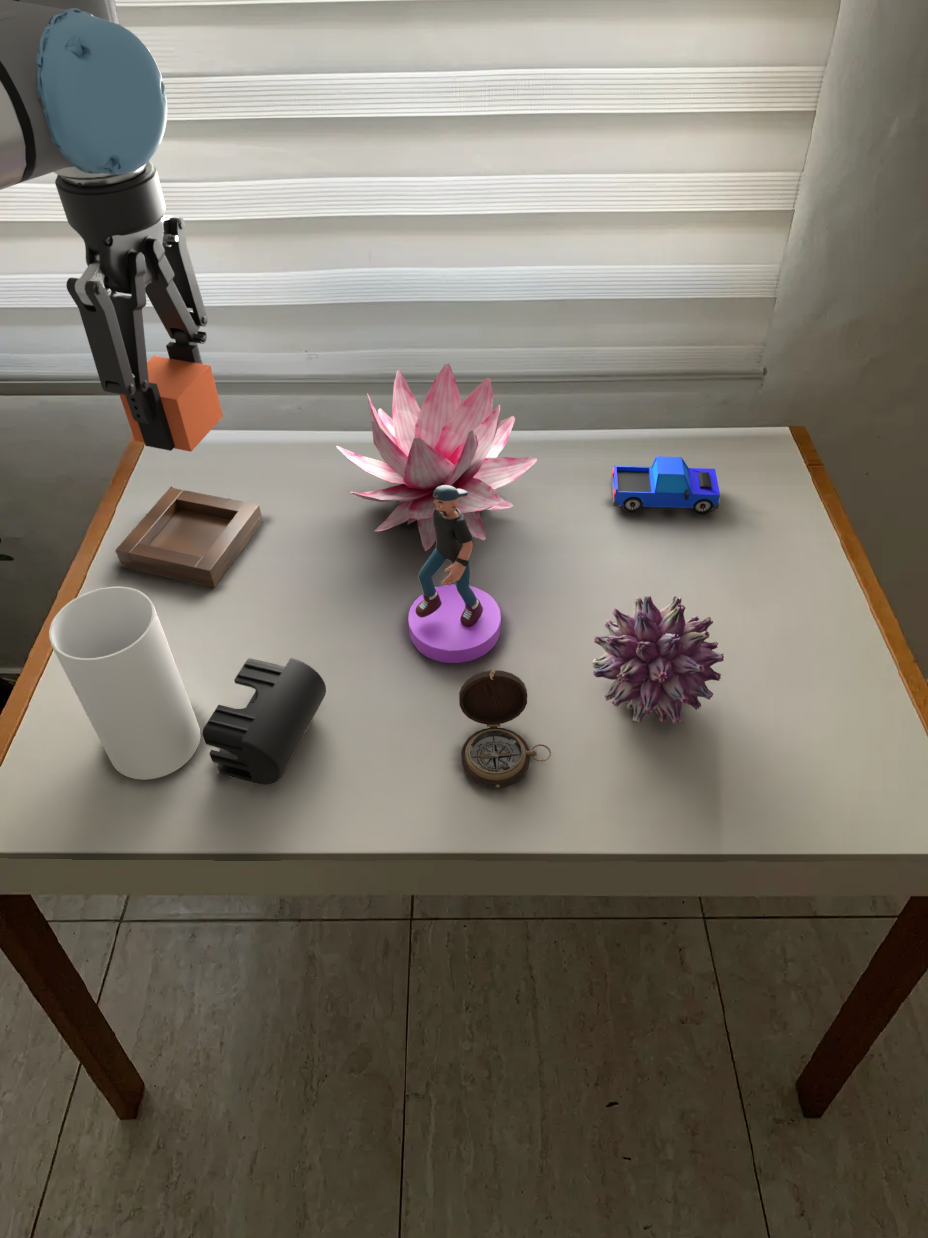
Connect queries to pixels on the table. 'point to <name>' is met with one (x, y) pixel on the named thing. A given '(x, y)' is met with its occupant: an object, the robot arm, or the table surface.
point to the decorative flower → (440, 453)
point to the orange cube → (182, 400)
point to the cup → (126, 680)
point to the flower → (657, 659)
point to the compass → (495, 729)
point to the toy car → (665, 486)
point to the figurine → (452, 593)
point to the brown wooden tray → (190, 537)
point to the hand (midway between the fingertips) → (179, 425)
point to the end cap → (265, 720)
